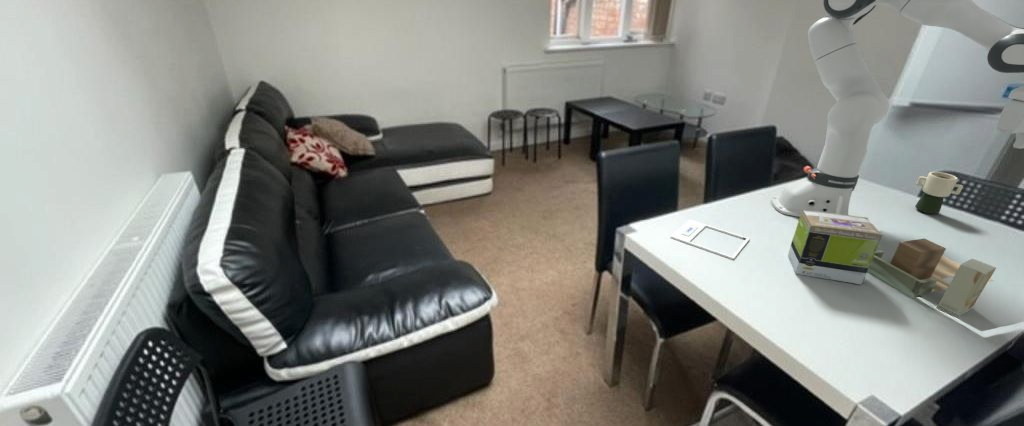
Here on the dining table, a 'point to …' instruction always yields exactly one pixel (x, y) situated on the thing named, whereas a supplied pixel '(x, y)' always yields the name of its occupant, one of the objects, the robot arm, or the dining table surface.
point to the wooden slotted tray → (909, 282)
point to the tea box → (833, 246)
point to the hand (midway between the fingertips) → (1020, 147)
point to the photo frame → (695, 228)
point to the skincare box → (966, 287)
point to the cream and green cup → (936, 191)
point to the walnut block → (918, 257)
